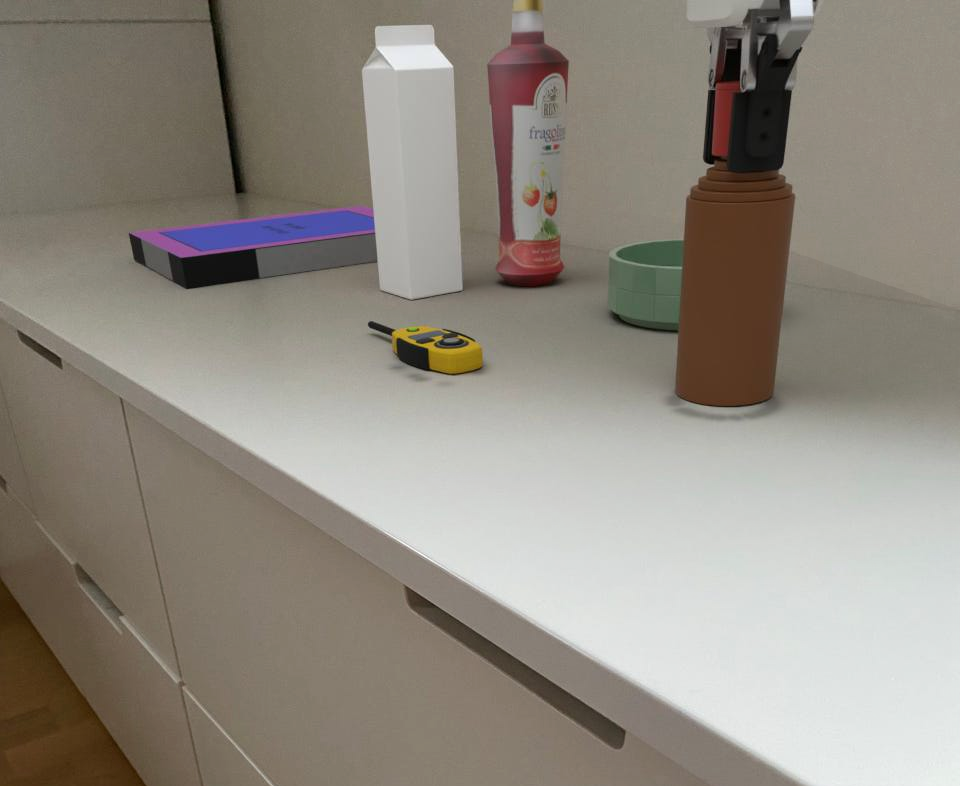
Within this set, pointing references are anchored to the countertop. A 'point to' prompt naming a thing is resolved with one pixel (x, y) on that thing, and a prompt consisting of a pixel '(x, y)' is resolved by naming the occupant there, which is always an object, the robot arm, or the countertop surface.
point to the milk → (413, 162)
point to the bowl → (647, 283)
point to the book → (258, 246)
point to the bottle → (733, 285)
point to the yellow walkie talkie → (434, 348)
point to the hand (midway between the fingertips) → (741, 163)
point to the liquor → (528, 148)
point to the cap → (723, 116)
